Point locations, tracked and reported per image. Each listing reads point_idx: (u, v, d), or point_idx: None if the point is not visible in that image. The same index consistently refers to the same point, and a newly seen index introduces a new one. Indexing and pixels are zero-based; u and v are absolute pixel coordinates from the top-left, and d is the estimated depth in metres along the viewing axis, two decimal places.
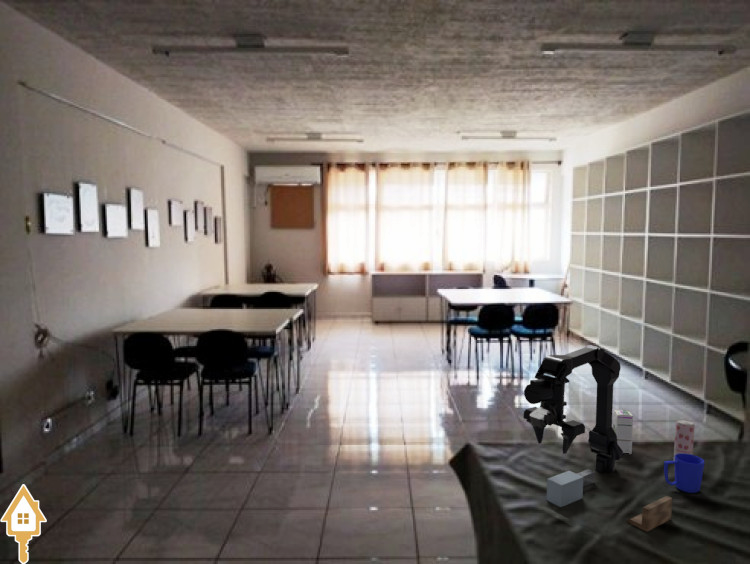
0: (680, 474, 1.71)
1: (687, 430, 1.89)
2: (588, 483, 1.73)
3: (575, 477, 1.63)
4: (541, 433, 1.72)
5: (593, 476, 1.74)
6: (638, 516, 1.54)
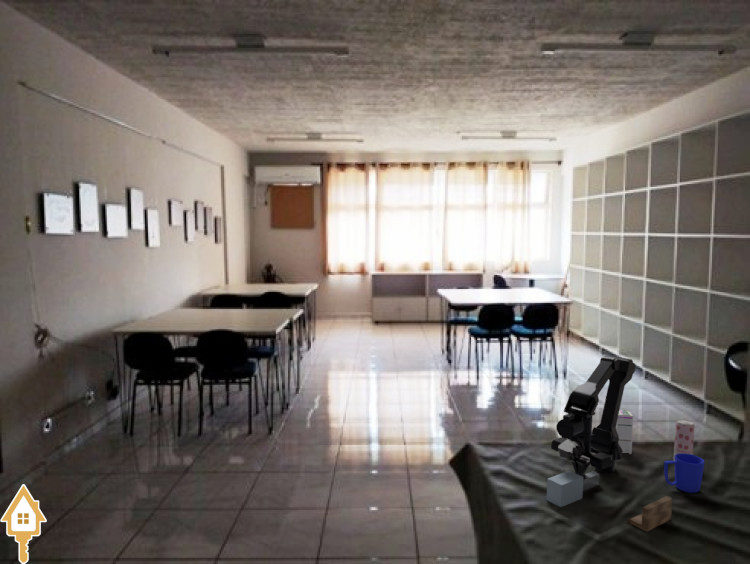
0: (680, 474, 1.71)
1: (687, 430, 1.89)
2: (593, 485, 1.71)
3: (575, 477, 1.63)
4: None
5: (598, 478, 1.73)
6: (638, 516, 1.54)
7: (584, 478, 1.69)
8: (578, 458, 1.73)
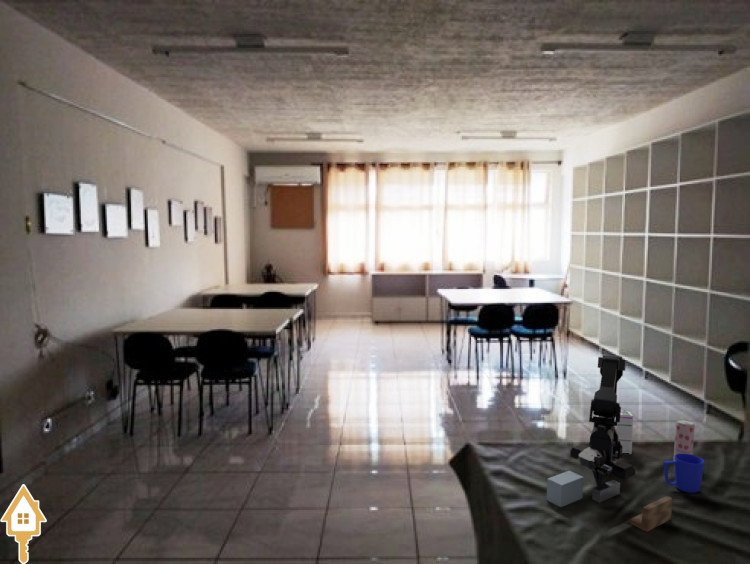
0: (680, 474, 1.71)
1: (687, 430, 1.89)
2: (613, 494, 1.65)
3: (575, 477, 1.63)
4: None
5: (619, 487, 1.67)
6: (638, 516, 1.54)
7: (605, 487, 1.64)
8: (599, 466, 1.67)
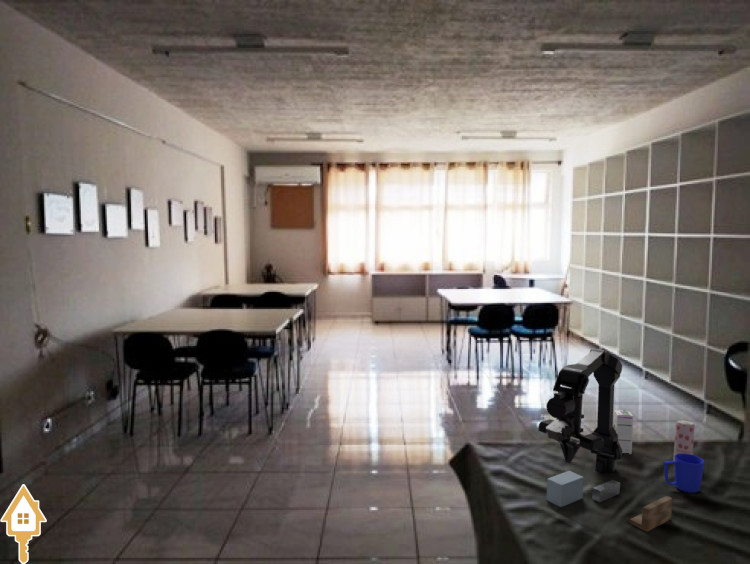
0: (680, 474, 1.71)
1: (687, 430, 1.89)
2: (613, 494, 1.65)
3: (575, 477, 1.63)
4: None
5: (619, 487, 1.67)
6: (638, 516, 1.54)
7: (605, 487, 1.64)
8: (567, 440, 1.62)
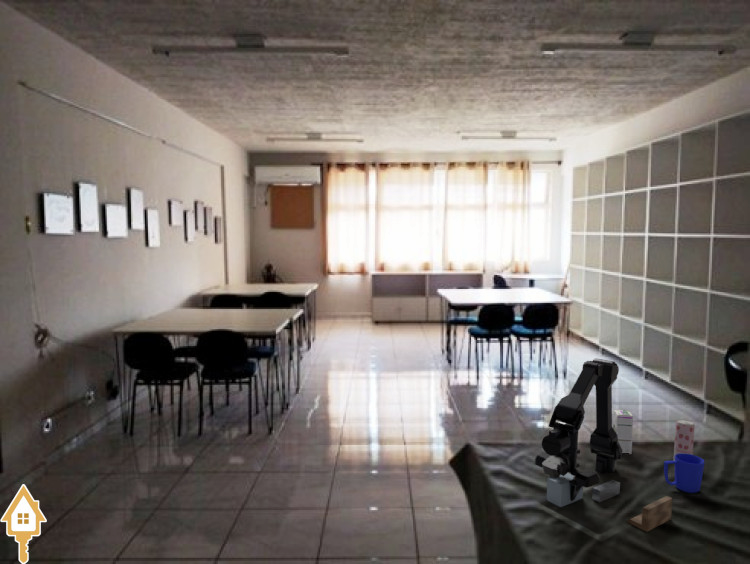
0: (680, 474, 1.71)
1: (687, 430, 1.89)
2: (613, 494, 1.65)
3: None
4: None
5: (619, 487, 1.67)
6: (638, 516, 1.54)
7: (605, 487, 1.64)
8: None
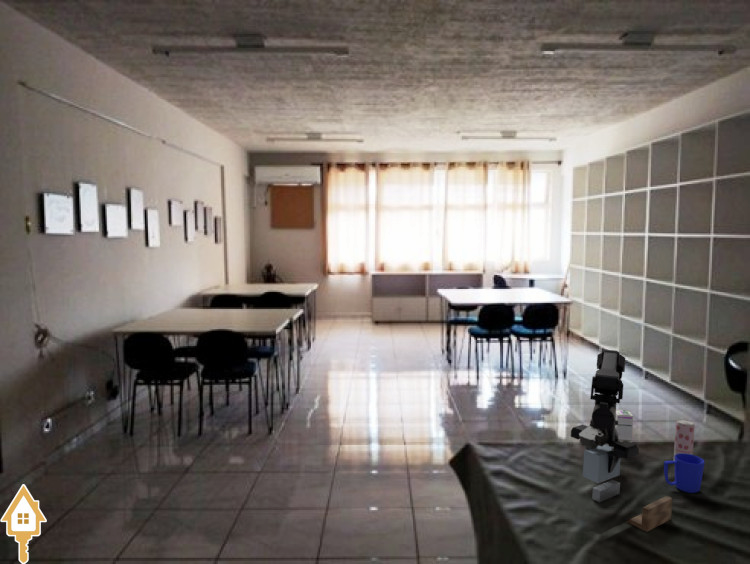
0: (680, 474, 1.71)
1: (687, 430, 1.89)
2: (613, 494, 1.65)
3: None
4: None
5: (619, 487, 1.67)
6: (638, 516, 1.54)
7: (605, 487, 1.64)
8: None
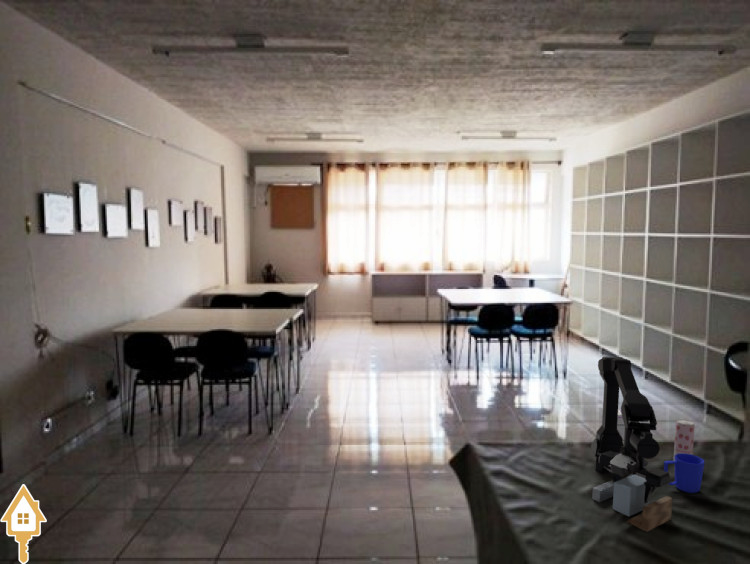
0: (680, 474, 1.71)
1: (687, 430, 1.89)
2: None
3: (642, 481, 1.58)
4: None
5: None
6: (638, 516, 1.54)
7: (605, 487, 1.64)
8: None
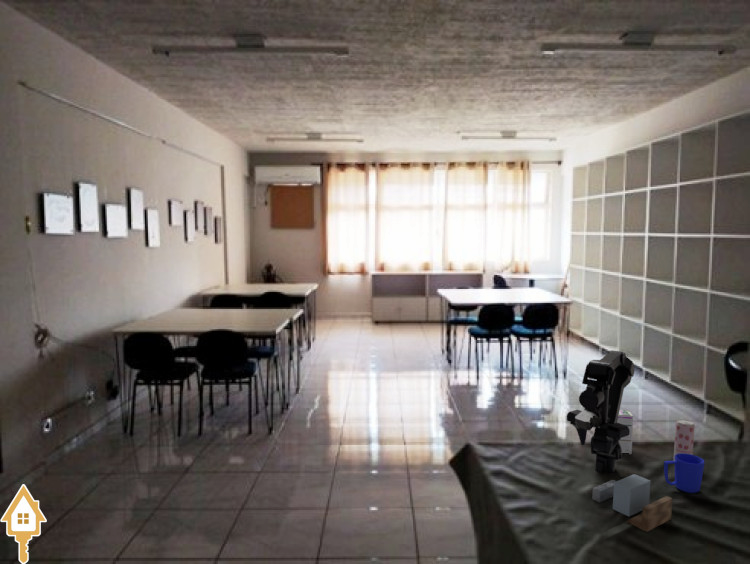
0: (680, 474, 1.71)
1: (687, 430, 1.89)
2: None
3: (642, 481, 1.58)
4: (584, 435, 1.77)
5: None
6: (638, 516, 1.54)
7: (605, 487, 1.64)
8: None
